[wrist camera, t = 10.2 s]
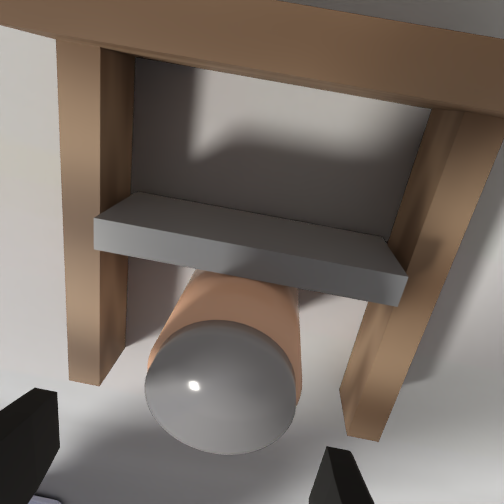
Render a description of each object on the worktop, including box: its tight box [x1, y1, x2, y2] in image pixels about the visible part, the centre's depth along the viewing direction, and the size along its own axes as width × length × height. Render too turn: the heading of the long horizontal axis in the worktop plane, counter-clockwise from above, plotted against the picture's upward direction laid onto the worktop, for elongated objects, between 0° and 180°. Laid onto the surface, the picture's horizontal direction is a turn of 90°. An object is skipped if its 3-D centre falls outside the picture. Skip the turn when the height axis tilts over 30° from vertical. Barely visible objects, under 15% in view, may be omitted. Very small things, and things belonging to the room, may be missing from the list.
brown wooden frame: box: [0, 0, 504, 442], centre depth 15 cm, size 16×15×6 cm
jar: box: [145, 269, 302, 455], centre depth 15 cm, size 5×5×8 cm
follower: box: [94, 192, 408, 307], centre depth 15 cm, size 1×11×4 cm, turn 81°
